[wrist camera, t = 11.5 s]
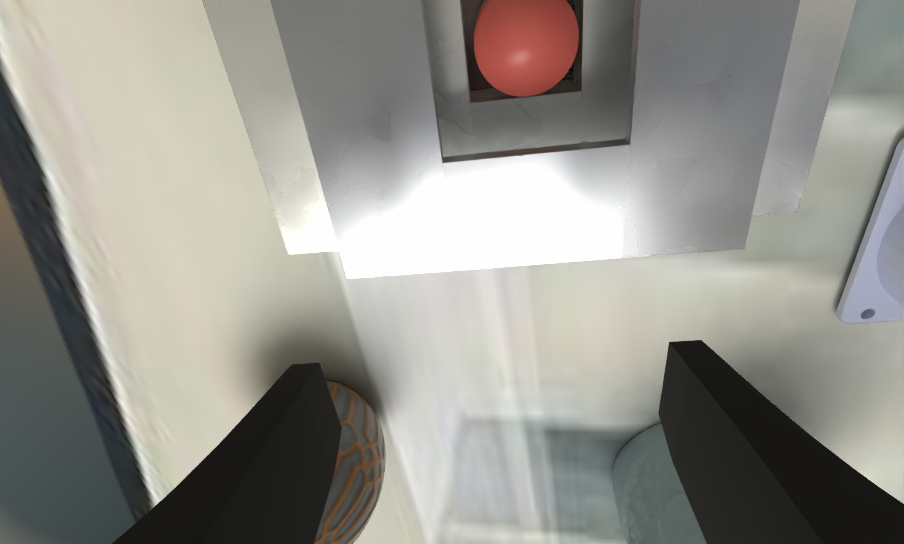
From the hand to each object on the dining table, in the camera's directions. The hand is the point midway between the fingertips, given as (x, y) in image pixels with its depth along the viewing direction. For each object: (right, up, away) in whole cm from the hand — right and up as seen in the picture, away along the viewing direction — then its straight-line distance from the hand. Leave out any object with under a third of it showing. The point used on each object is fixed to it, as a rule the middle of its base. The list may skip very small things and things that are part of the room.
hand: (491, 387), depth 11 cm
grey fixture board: (+1, +10, +5) cm, 11 cm away
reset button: (+1, +10, +5) cm, 11 cm away
